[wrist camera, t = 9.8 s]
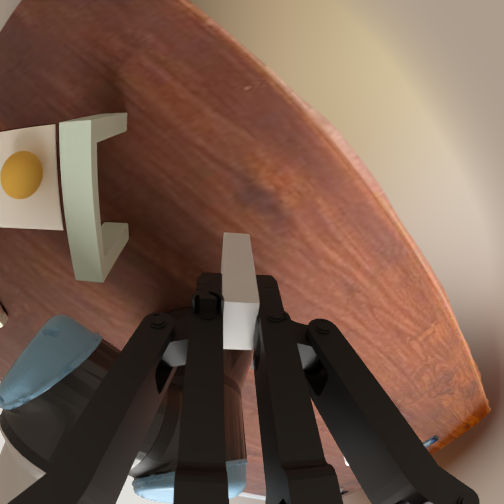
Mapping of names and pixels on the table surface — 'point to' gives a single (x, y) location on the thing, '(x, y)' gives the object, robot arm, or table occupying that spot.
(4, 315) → the pipe fitting
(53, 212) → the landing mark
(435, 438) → the smartphone
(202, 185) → the table surface
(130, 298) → the table surface
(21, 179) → the ball
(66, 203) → the bridge
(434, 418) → the table surface
